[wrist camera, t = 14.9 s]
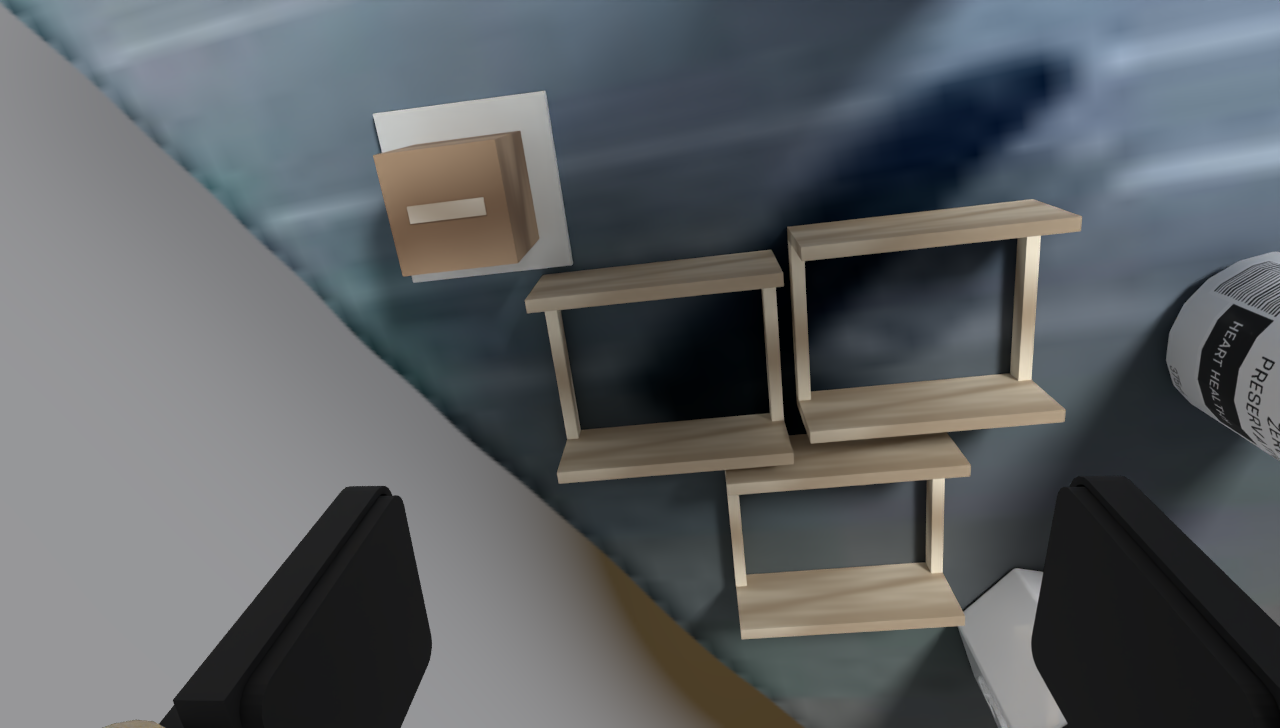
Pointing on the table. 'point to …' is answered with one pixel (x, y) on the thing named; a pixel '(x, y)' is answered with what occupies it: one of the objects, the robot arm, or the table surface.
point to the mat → (485, 120)
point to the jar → (1009, 653)
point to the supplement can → (1233, 350)
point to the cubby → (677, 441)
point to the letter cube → (459, 203)
